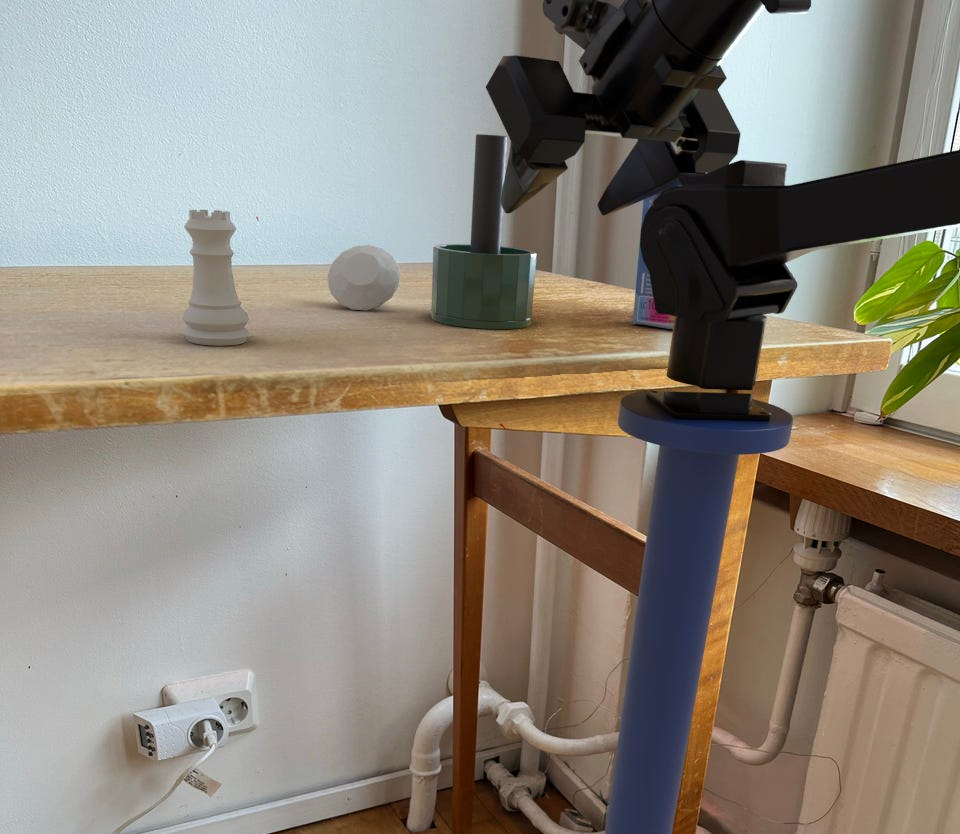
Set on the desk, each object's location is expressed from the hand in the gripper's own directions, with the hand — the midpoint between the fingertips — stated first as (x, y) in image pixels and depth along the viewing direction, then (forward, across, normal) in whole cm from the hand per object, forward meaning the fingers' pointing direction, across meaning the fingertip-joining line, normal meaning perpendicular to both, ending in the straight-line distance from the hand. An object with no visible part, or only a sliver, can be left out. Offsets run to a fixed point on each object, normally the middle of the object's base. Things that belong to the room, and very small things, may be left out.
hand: (554, 209), depth 71 cm
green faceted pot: (+12, 0, +1) cm, 12 cm away
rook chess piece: (+11, +24, +2) cm, 26 cm away
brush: (+12, 0, 0) cm, 12 cm away
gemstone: (+19, +6, -6) cm, 20 cm away
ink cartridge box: (+8, -17, +5) cm, 20 cm away
